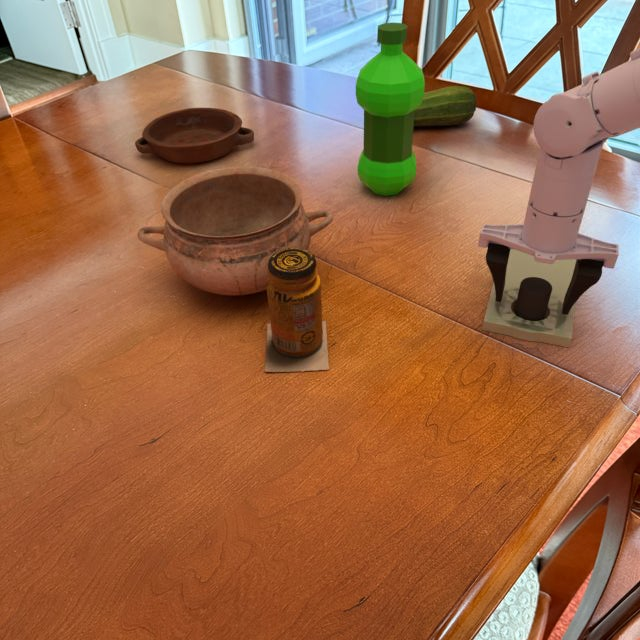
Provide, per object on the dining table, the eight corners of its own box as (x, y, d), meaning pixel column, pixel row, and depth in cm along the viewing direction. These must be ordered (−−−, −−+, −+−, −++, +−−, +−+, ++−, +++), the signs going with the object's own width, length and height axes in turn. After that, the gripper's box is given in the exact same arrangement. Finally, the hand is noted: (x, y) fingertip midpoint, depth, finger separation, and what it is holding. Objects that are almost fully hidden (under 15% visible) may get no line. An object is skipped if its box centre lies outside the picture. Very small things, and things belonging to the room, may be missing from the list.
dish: (140, 137, 119) (134, 112, 116) (250, 125, 122) (248, 101, 118) (135, 177, 106) (128, 150, 103) (259, 163, 109) (256, 137, 105)
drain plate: (569, 349, 69) (572, 340, 68) (481, 331, 72) (483, 322, 71) (577, 254, 84) (579, 245, 83) (503, 242, 86) (505, 233, 85)
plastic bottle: (416, 173, 103) (428, 16, 87) (416, 204, 95) (429, 37, 79) (358, 172, 104) (359, 16, 88) (353, 203, 97) (353, 38, 80)
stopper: (549, 320, 73) (559, 288, 70) (529, 331, 72) (537, 299, 69) (527, 305, 76) (535, 273, 72) (507, 315, 74) (514, 283, 71)
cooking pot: (145, 333, 74) (119, 250, 66) (158, 248, 89) (138, 172, 81) (344, 312, 76) (343, 229, 68) (325, 232, 90) (323, 156, 82)
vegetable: (480, 81, 112) (374, 89, 112) (480, 122, 114) (376, 130, 113) (469, 87, 119) (369, 95, 119) (470, 125, 121) (371, 132, 121)
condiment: (325, 322, 75) (322, 240, 67) (329, 370, 68) (325, 286, 60) (267, 324, 75) (257, 243, 67) (265, 373, 68) (253, 290, 60)
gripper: (481, 211, 63) (465, 311, 71) (631, 233, 58) (595, 336, 67) (491, 180, 68) (475, 277, 76) (630, 199, 63) (596, 299, 72)
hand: (531, 303), depth 72 cm, fingers open, 7 cm apart
